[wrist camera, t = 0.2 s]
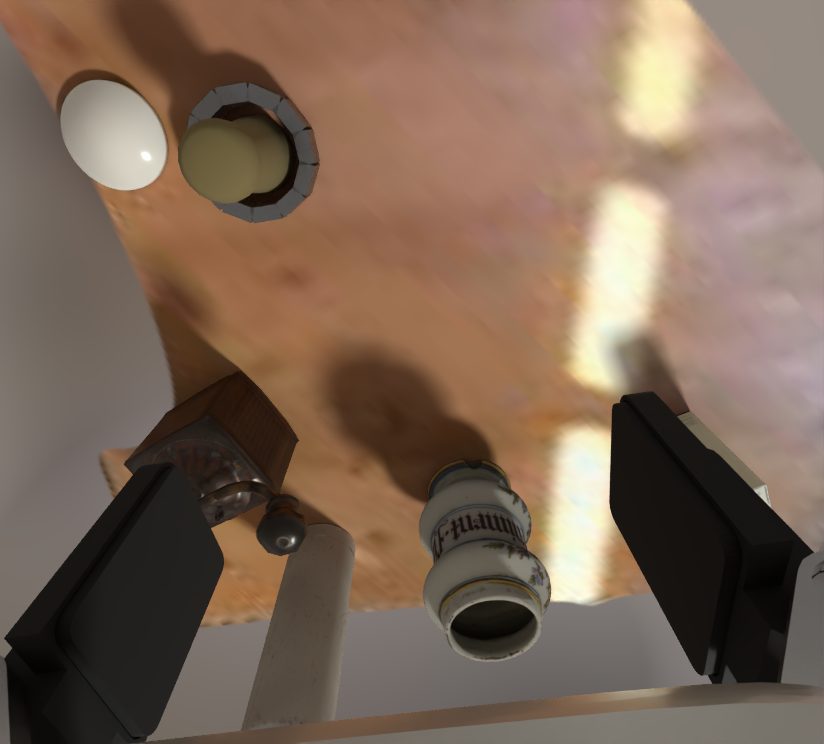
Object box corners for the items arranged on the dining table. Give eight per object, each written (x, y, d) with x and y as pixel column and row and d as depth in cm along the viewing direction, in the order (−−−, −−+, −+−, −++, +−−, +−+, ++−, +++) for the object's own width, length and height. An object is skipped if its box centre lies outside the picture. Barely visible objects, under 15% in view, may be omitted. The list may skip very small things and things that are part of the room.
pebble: (48, 89, 38) (41, 89, 37) (145, 72, 37) (140, 71, 37) (93, 196, 41) (88, 197, 41) (182, 181, 41) (178, 182, 40)
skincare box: (651, 424, 53) (715, 500, 42) (692, 409, 52) (767, 482, 41) (664, 465, 55) (727, 546, 45) (703, 451, 55) (776, 531, 44)
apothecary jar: (520, 446, 54) (569, 581, 38) (518, 525, 59) (560, 672, 43) (414, 454, 54) (418, 590, 38) (421, 532, 60) (427, 680, 44)
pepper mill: (231, 480, 56) (161, 622, 40) (164, 410, 51) (55, 539, 35) (342, 423, 52) (315, 554, 36) (281, 343, 48) (218, 451, 32)
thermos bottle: (354, 570, 63) (320, 862, 38) (292, 566, 62) (217, 860, 37) (356, 525, 59) (321, 815, 34) (291, 521, 59) (207, 812, 34)
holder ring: (180, 98, 38) (166, 96, 36) (301, 76, 38) (295, 73, 35) (221, 224, 43) (210, 229, 40) (329, 207, 42) (325, 211, 40)
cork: (209, 127, 39) (144, 126, 29) (278, 104, 38) (235, 96, 29) (240, 201, 42) (190, 224, 32) (305, 182, 41) (274, 198, 31)
